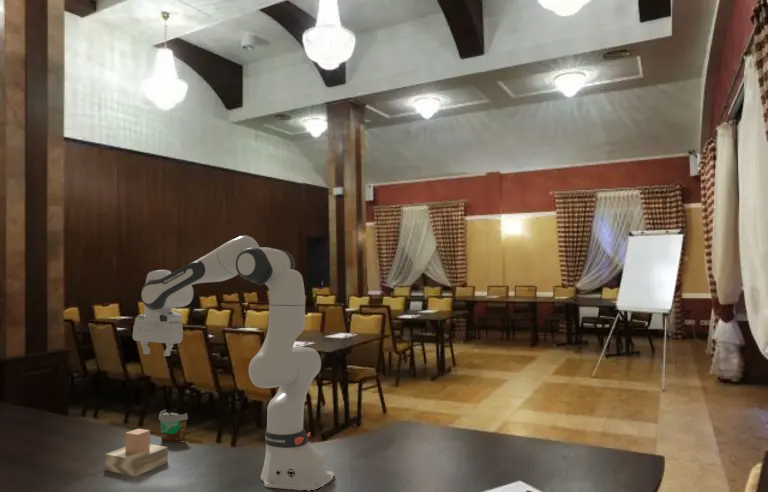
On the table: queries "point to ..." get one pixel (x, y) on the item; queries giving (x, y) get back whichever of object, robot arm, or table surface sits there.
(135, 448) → the terracotta block
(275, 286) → the robot arm
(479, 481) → the table surface
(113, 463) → the birch plinth
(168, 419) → the food container
